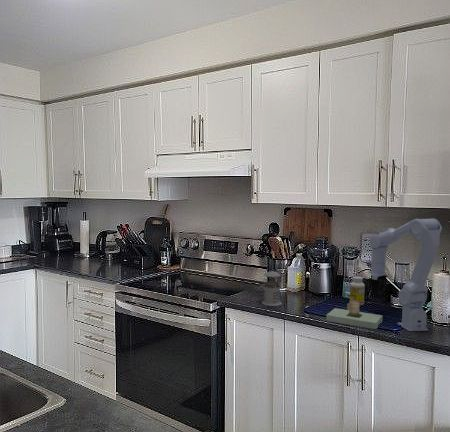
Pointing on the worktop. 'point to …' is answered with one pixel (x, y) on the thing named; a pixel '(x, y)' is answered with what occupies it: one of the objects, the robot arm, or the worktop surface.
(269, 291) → the french press
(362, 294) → the supplement bottle
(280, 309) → the worktop surface
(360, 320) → the hole board
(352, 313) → the tall dowel
